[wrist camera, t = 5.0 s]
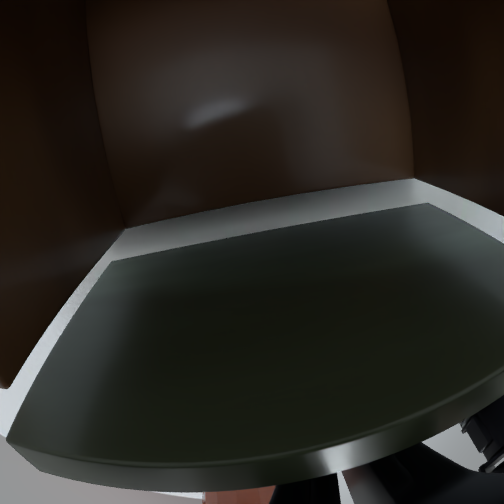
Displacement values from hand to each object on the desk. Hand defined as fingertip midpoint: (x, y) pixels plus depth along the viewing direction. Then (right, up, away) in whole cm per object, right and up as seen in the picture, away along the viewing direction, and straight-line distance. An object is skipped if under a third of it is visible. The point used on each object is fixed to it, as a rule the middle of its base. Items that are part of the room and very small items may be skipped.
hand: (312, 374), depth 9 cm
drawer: (-1, +7, 0) cm, 8 cm away
